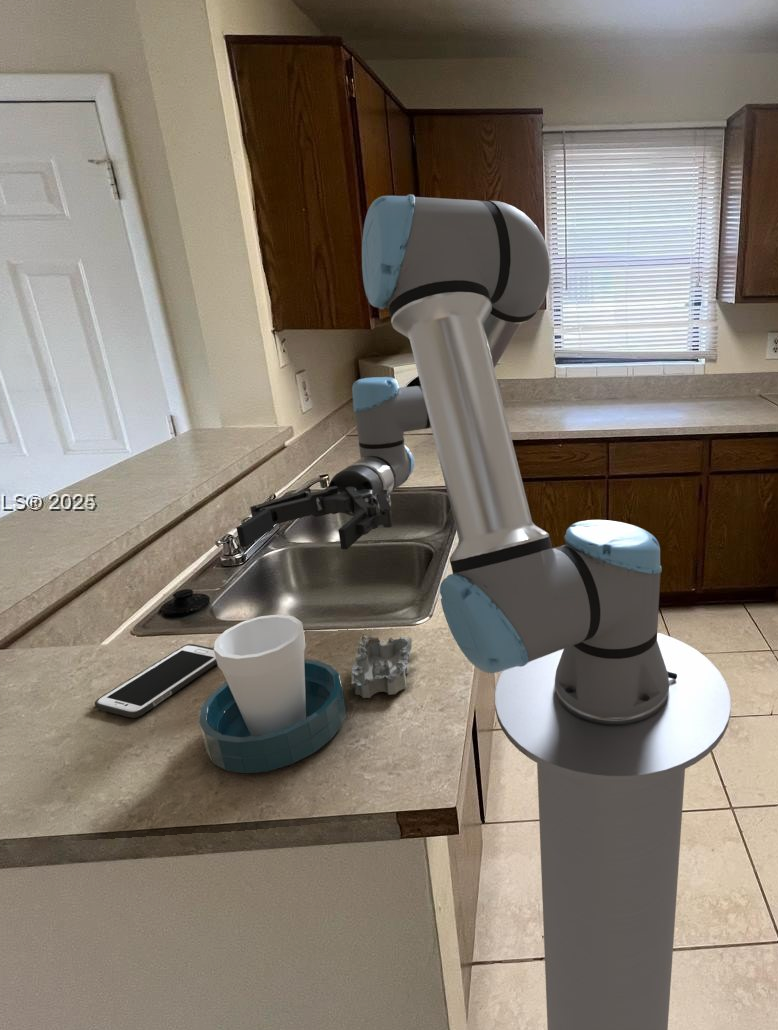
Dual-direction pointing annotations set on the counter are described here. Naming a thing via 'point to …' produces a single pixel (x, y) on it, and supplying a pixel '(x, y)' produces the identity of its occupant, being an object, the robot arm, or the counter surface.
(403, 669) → the egg carton
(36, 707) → the counter surface
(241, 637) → the foam cup
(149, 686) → the cell phone
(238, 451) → the counter surface
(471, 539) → the robot arm
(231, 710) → the bowl
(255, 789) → the counter surface
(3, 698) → the counter surface
